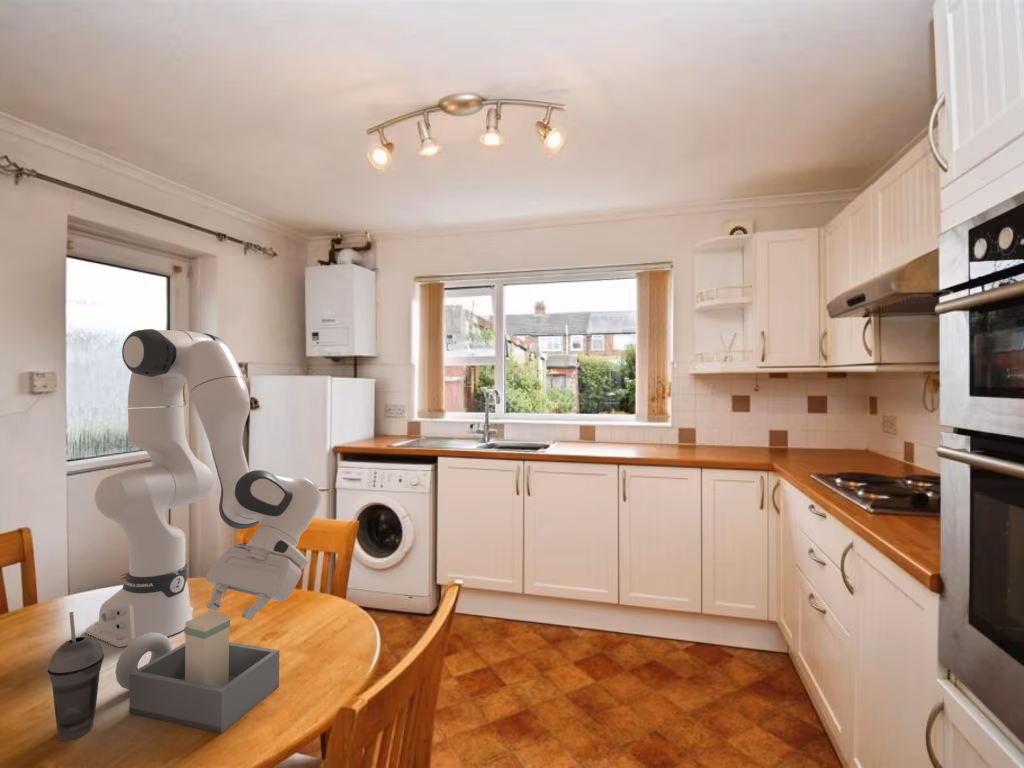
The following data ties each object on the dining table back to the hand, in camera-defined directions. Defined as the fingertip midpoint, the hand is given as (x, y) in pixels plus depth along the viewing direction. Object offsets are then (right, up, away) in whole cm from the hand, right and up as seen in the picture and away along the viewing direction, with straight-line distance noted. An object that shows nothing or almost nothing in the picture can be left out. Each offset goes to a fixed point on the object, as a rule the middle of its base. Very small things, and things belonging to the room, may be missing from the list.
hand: (228, 613), depth 100 cm
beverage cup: (-18, -14, -13) cm, 27 cm away
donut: (-16, -14, 0) cm, 21 cm away
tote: (-2, -14, -4) cm, 15 cm away
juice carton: (-2, -13, -4) cm, 14 cm away
